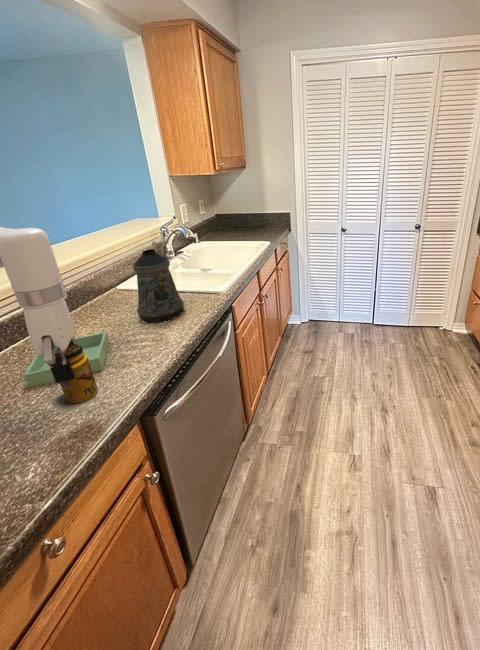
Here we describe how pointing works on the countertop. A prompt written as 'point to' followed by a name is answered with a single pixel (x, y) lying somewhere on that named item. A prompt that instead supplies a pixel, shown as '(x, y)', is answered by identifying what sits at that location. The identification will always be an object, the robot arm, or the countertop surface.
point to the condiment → (77, 382)
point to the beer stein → (156, 289)
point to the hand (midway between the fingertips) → (69, 370)
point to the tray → (92, 347)
